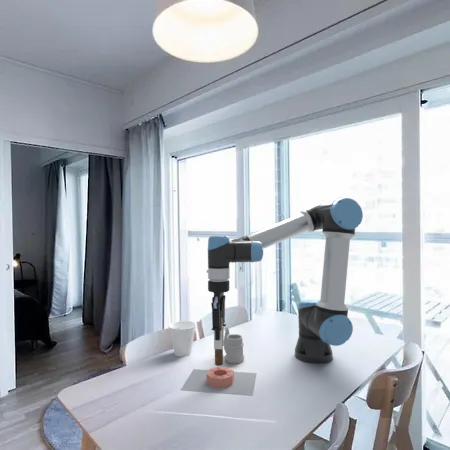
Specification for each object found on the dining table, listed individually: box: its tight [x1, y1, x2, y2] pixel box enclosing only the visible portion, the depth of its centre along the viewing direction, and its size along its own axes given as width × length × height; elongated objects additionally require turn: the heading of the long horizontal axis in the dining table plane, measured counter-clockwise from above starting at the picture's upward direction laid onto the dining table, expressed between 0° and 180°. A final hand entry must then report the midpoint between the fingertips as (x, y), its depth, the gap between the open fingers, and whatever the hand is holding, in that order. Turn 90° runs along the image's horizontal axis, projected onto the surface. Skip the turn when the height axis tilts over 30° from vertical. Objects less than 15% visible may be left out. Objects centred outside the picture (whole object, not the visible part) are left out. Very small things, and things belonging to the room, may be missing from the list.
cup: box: [168, 320, 197, 358], centre depth 140 cm, size 12×12×12 cm
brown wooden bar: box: [214, 318, 224, 367], centre depth 113 cm, size 3×3×16 cm
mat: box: [180, 368, 257, 397], centre depth 113 cm, size 24×16×1 cm, turn 80°
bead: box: [207, 366, 235, 388], centre depth 113 cm, size 9×9×3 cm
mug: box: [223, 326, 245, 365], centre depth 133 cm, size 8×12×12 cm, turn 31°
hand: (218, 346), depth 113 cm, fingers closed on brown wooden bar, 2 cm apart
